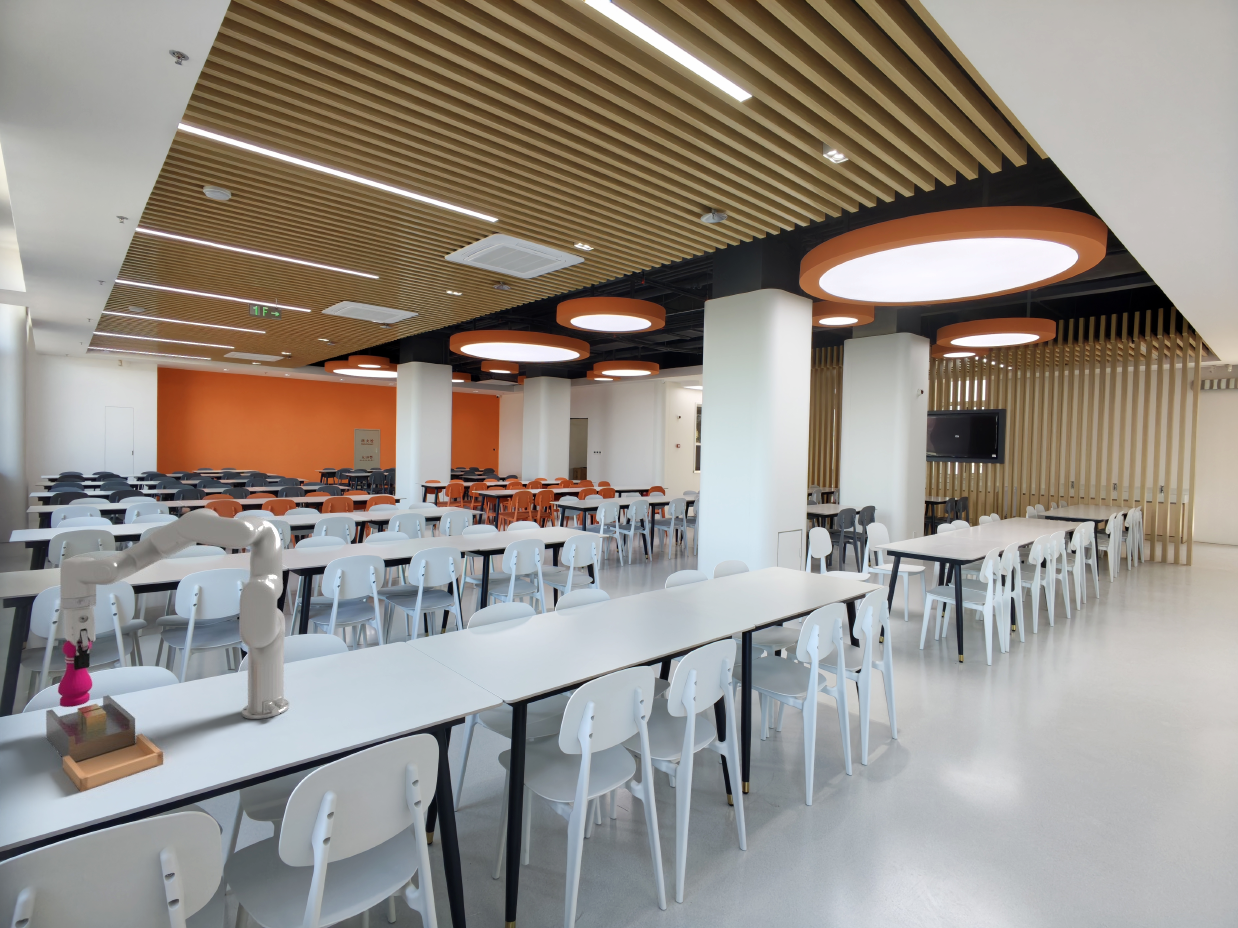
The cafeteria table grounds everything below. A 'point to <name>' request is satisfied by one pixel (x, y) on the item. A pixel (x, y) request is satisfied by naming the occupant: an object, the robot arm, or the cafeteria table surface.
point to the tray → (113, 764)
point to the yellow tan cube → (85, 710)
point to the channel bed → (91, 733)
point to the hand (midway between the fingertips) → (78, 665)
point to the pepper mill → (74, 680)
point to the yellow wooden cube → (94, 720)
